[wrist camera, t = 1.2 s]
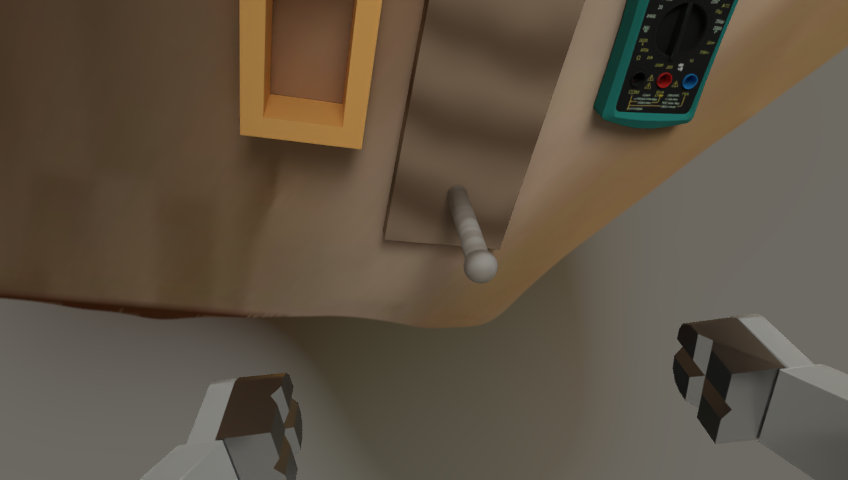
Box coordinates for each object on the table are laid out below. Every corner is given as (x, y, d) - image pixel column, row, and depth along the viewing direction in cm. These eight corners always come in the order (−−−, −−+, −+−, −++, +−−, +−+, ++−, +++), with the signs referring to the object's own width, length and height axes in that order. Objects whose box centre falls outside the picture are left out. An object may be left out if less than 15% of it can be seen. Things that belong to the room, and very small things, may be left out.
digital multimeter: (587, 114, 41) (602, 131, 39) (652, -114, 32) (676, -111, 30) (673, 117, 42) (693, 133, 40) (758, -103, 34) (790, -99, 31)
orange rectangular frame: (250, -124, 29) (238, -121, 26) (388, -94, 31) (394, -87, 28) (248, 110, 37) (240, 134, 34) (359, 124, 39) (361, 149, 36)
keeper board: (437, -66, 32) (475, -31, 23) (586, -34, 34) (676, 10, 25) (383, 229, 45) (393, 329, 35) (495, 239, 47) (533, 335, 38)
